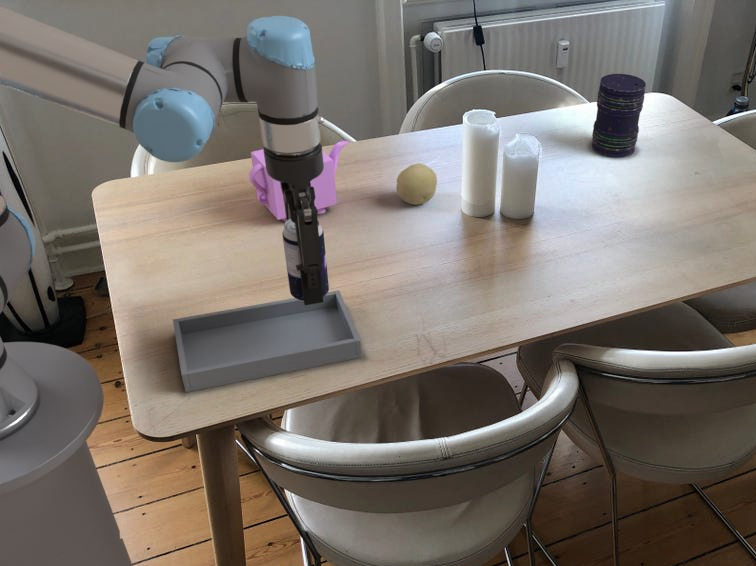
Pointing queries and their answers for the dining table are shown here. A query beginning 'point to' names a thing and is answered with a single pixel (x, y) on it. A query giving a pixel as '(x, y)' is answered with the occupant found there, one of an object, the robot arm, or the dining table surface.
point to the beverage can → (294, 259)
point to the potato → (416, 184)
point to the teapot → (323, 184)
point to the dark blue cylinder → (618, 115)
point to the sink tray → (264, 341)
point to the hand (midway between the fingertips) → (309, 290)
